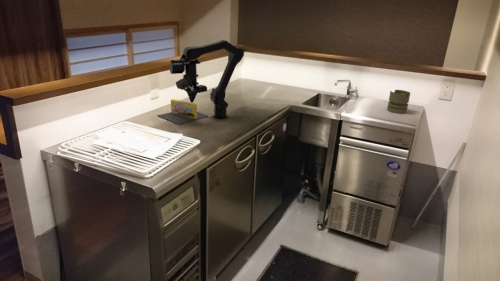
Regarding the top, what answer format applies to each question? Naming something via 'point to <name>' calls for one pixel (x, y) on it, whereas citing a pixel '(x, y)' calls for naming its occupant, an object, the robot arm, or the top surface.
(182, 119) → the mat
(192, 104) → the candy box
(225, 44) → the robot arm
